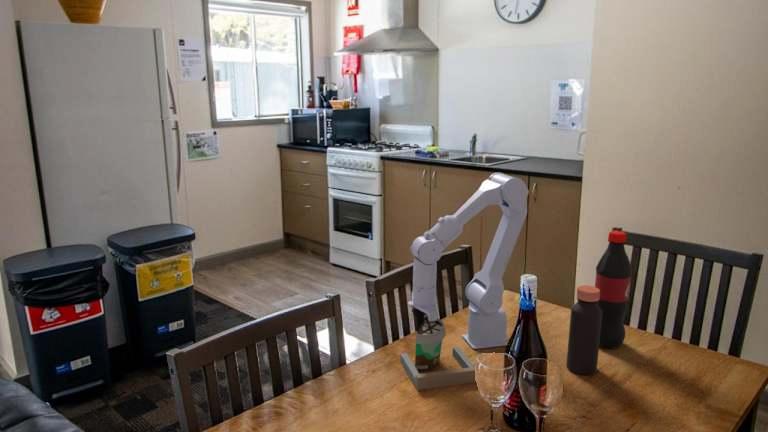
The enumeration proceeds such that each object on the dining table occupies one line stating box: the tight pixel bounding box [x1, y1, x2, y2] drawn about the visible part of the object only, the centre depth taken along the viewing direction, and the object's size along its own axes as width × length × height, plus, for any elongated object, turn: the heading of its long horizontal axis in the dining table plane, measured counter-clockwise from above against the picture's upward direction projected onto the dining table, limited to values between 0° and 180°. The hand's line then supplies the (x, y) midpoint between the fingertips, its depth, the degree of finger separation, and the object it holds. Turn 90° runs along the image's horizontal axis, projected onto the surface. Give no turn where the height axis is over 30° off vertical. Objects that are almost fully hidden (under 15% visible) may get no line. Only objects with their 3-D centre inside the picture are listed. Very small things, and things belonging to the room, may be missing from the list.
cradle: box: [399, 346, 476, 391], centre depth 129 cm, size 15×14×3 cm
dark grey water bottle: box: [566, 284, 602, 376], centre depth 129 cm, size 7×7×20 cm
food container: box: [414, 314, 447, 373], centre depth 132 cm, size 12×6×10 cm, turn 167°
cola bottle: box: [594, 230, 633, 349], centre depth 140 cm, size 8×8×30 cm
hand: (422, 336), depth 140 cm, fingers closed
